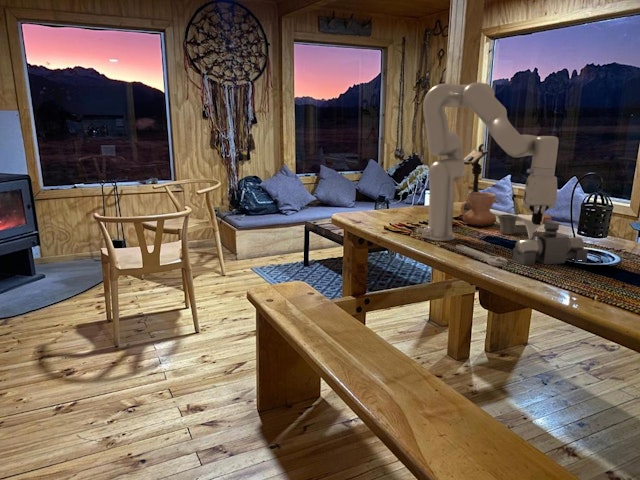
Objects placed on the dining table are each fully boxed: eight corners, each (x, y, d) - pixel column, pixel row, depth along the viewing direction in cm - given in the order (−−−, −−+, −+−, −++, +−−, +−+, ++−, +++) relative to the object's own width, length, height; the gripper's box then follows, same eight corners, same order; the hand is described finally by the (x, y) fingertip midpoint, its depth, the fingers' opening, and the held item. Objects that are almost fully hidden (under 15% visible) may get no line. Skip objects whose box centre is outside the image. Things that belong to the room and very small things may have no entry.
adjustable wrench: (454, 249, 182) (454, 244, 182) (468, 247, 184) (469, 243, 184) (494, 267, 159) (495, 262, 159) (511, 265, 161) (511, 260, 160)
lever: (559, 231, 160) (560, 224, 159) (545, 230, 161) (546, 223, 160) (550, 220, 175) (551, 214, 175) (537, 220, 177) (537, 214, 176)
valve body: (524, 265, 160) (527, 234, 157) (511, 258, 167) (514, 228, 165) (587, 261, 163) (591, 230, 160) (572, 255, 171) (575, 225, 168)
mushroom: (540, 238, 193) (543, 209, 190) (547, 245, 183) (550, 214, 180) (513, 237, 195) (516, 208, 192) (518, 244, 185) (521, 214, 182)
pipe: (530, 236, 197) (532, 217, 195) (497, 235, 200) (499, 216, 198) (527, 233, 203) (529, 214, 201) (495, 231, 206) (497, 213, 204)
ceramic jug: (488, 220, 227) (491, 190, 224) (504, 227, 213) (507, 195, 210) (452, 222, 225) (454, 192, 221) (465, 229, 211) (468, 197, 207)
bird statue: (464, 216, 237) (469, 144, 228) (449, 211, 249) (453, 142, 240) (492, 214, 242) (498, 143, 233) (476, 209, 254) (481, 141, 245)
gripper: (524, 173, 163) (518, 226, 168) (569, 173, 163) (562, 226, 168) (516, 170, 171) (511, 221, 175) (559, 171, 170) (553, 221, 175)
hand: (536, 223), depth 172 cm, fingers closed
